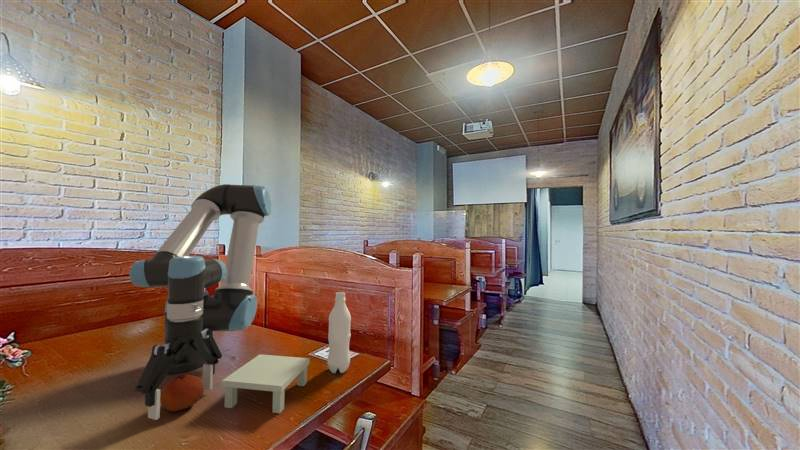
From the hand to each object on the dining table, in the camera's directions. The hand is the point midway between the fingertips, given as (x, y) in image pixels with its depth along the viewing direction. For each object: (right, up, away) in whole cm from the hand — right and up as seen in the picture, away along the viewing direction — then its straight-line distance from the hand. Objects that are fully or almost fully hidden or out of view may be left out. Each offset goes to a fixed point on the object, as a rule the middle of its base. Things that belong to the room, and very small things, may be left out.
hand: (182, 402), depth 76 cm
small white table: (+19, -2, +7) cm, 20 cm away
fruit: (0, -2, 0) cm, 2 cm away
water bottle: (+35, -3, +21) cm, 41 cm away
